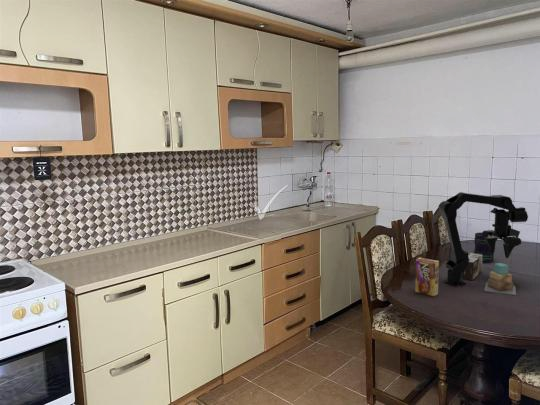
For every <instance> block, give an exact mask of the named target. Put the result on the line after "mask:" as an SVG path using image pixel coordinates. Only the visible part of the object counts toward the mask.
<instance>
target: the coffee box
mask: <svg viewBox="0 0 540 405" xmlns="http://www.w3.org/2000/svg"><path fill="white" fill-rule="evenodd" d="M482 256H483V255H480V254H474V252H473V253H472V252H470V253H468V258H469V260H470V261H469V265H468V266H467V267H466V269H465V271H464V273H462V279H465V280H470V281H474V279H475V278H476V277H478V276H479V275H480V274H481V273H482V271H483V263H482Z"/></svg>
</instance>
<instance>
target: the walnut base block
mask: <svg viewBox="0 0 540 405" xmlns="http://www.w3.org/2000/svg"><path fill="white" fill-rule="evenodd" d="M487 282H488V287H491V288H493V289H495V290H497V291H509V290H513V286H514V282H513V281H511V282H509V283H497V282H495V281H493V280H491V279H490V278H488V279H487Z"/></svg>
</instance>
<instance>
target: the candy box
mask: <svg viewBox="0 0 540 405" xmlns="http://www.w3.org/2000/svg"><path fill="white" fill-rule="evenodd" d="M439 266H440V261H439V260H437V259H436V260H435V259H430V258H423V257H417V258H416V259H415V288H414V290H415V293H417V294H418V293H419V294H423V295H426V296H427V295H428V296H432V297H436V296H437V295H438V294H439V274H440V272H439V271H440V267H439Z"/></svg>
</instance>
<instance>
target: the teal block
mask: <svg viewBox="0 0 540 405" xmlns="http://www.w3.org/2000/svg"><path fill="white" fill-rule="evenodd" d="M493 271H494V273H497V274H499V275H505V274H508V273H509V264H506V263H503V262H498V263H494V264H493Z"/></svg>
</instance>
